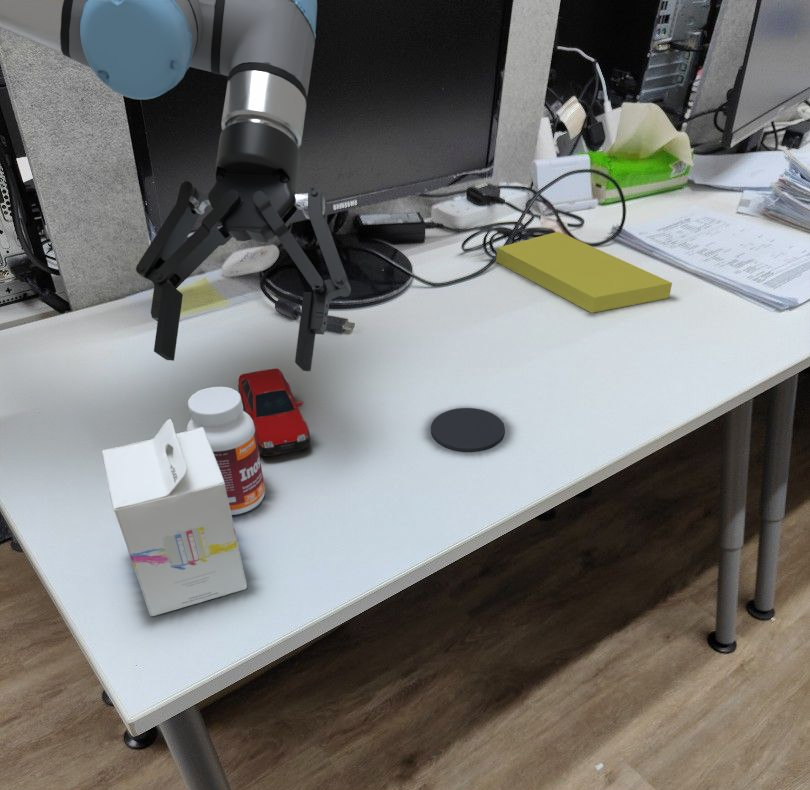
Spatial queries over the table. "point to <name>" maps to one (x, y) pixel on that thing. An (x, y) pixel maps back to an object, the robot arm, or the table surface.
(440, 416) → the coaster
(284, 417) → the toy car
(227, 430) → the pill bottle
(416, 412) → the table surface
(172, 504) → the ink box
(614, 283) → the flat mustard tile
